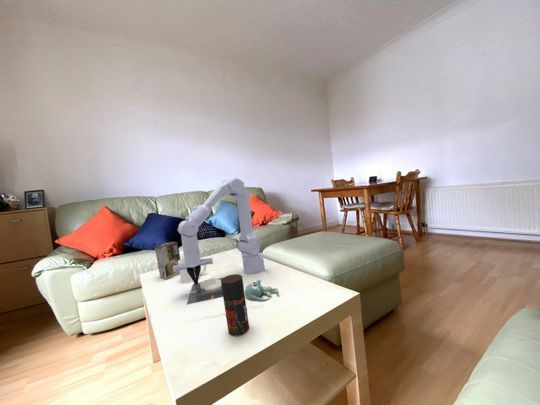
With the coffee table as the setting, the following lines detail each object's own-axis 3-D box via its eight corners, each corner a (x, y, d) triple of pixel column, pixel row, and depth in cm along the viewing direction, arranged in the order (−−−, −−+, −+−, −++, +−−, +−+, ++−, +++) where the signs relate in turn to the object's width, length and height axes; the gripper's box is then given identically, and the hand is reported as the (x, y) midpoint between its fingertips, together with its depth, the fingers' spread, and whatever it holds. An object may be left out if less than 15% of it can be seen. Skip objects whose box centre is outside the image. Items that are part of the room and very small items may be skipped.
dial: (218, 282, 100) (216, 273, 99) (226, 287, 93) (225, 277, 93) (192, 292, 93) (190, 282, 93) (199, 298, 86) (197, 288, 86)
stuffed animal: (281, 286, 79) (246, 286, 78) (280, 306, 80) (244, 307, 78) (276, 274, 90) (244, 274, 88) (275, 292, 90) (243, 292, 89)
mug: (205, 273, 116) (202, 253, 115) (210, 278, 109) (207, 256, 108) (180, 281, 110) (176, 260, 109) (183, 287, 102) (179, 264, 102)
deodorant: (229, 324, 70) (222, 276, 69) (249, 321, 70) (242, 273, 69) (227, 337, 64) (219, 284, 63) (249, 334, 64) (241, 281, 63)
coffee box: (176, 271, 125) (171, 241, 123) (183, 272, 121) (178, 242, 120) (159, 278, 118) (154, 246, 116) (166, 279, 114) (161, 247, 112)
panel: (235, 278, 105) (234, 272, 104) (237, 296, 87) (236, 289, 87) (193, 286, 101) (192, 280, 101) (187, 307, 84) (185, 300, 83)
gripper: (170, 258, 85) (176, 294, 86) (211, 249, 89) (216, 284, 91) (171, 253, 92) (177, 286, 93) (210, 245, 96) (214, 277, 97)
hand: (196, 285), depth 92 cm, fingers closed, pressing on dial
